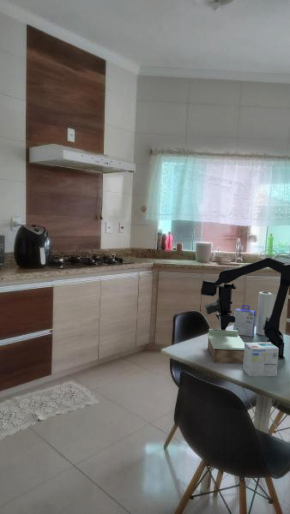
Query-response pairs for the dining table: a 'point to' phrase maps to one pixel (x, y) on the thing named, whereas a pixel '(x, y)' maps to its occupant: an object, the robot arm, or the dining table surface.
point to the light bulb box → (260, 359)
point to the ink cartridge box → (244, 321)
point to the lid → (225, 339)
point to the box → (226, 355)
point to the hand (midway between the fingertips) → (222, 332)
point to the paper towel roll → (264, 310)
